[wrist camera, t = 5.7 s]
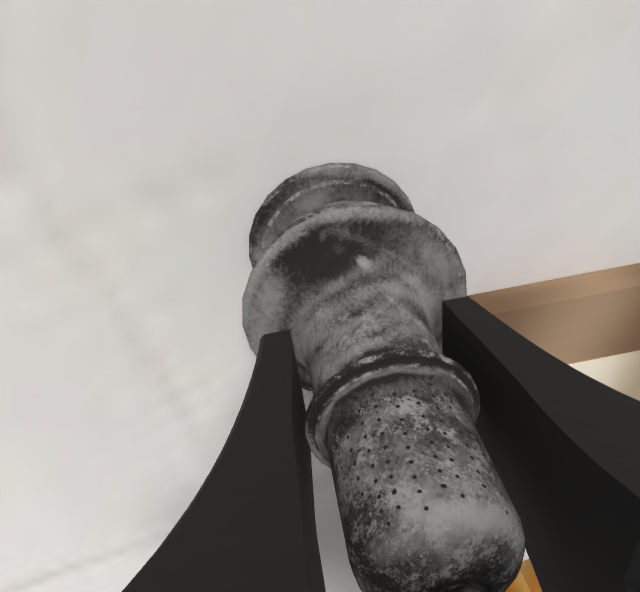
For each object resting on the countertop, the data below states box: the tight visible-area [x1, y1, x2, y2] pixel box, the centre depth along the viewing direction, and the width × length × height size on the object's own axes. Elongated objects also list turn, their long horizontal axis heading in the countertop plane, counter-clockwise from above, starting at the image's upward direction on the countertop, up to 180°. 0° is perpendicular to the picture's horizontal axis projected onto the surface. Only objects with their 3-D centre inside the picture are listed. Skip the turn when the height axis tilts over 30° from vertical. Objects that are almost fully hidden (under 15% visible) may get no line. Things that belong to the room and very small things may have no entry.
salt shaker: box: [242, 163, 525, 592], centre depth 12 cm, size 6×6×12 cm
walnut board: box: [441, 263, 640, 401], centre depth 23 cm, size 14×14×1 cm
